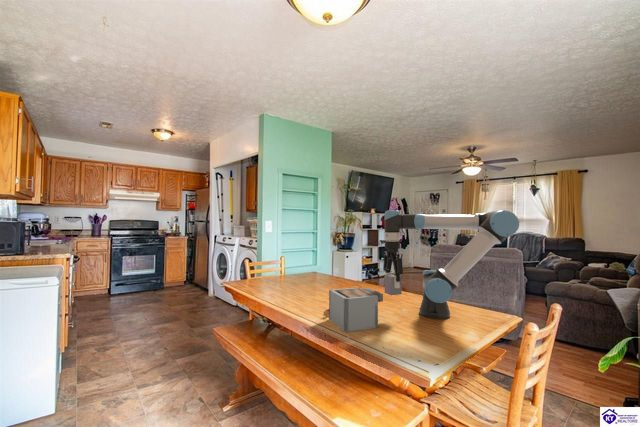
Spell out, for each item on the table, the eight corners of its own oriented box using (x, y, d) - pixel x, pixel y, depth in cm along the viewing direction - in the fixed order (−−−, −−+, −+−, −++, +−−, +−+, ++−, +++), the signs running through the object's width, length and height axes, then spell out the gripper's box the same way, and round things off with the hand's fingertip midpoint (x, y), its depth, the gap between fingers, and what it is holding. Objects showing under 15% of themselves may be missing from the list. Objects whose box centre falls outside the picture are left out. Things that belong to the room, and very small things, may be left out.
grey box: (358, 315, 154) (358, 287, 155) (377, 327, 137) (377, 295, 137) (329, 319, 148) (329, 289, 149) (345, 332, 131) (345, 298, 132)
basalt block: (394, 291, 155) (394, 274, 155) (401, 294, 149) (401, 276, 149) (384, 292, 153) (384, 275, 153) (391, 295, 147) (391, 277, 147)
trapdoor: (368, 294, 154) (368, 287, 154) (383, 301, 141) (383, 294, 141) (337, 297, 148) (337, 290, 148) (350, 305, 135) (350, 297, 135)
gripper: (376, 240, 159) (376, 283, 158) (397, 242, 141) (397, 291, 141) (388, 239, 162) (388, 282, 161) (410, 241, 144) (411, 289, 143)
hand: (392, 286), depth 151 cm, fingers closed on basalt block, 6 cm apart
